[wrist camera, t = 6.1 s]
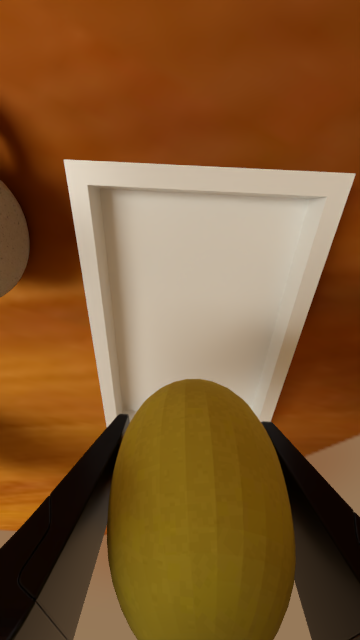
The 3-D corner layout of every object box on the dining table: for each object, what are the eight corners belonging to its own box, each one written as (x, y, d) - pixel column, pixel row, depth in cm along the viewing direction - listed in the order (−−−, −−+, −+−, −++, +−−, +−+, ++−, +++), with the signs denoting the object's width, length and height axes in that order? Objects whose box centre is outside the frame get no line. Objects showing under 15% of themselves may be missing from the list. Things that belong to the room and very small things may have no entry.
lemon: (116, 387, 11) (-13, 715, 4) (195, 320, 9) (235, 697, 2) (190, 438, 13) (198, 731, 5) (269, 389, 11) (435, 730, 4)
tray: (255, 417, 21) (263, 441, 19) (116, 409, 21) (107, 432, 19) (325, 180, 12) (355, 173, 10) (85, 169, 13) (63, 159, 10)
